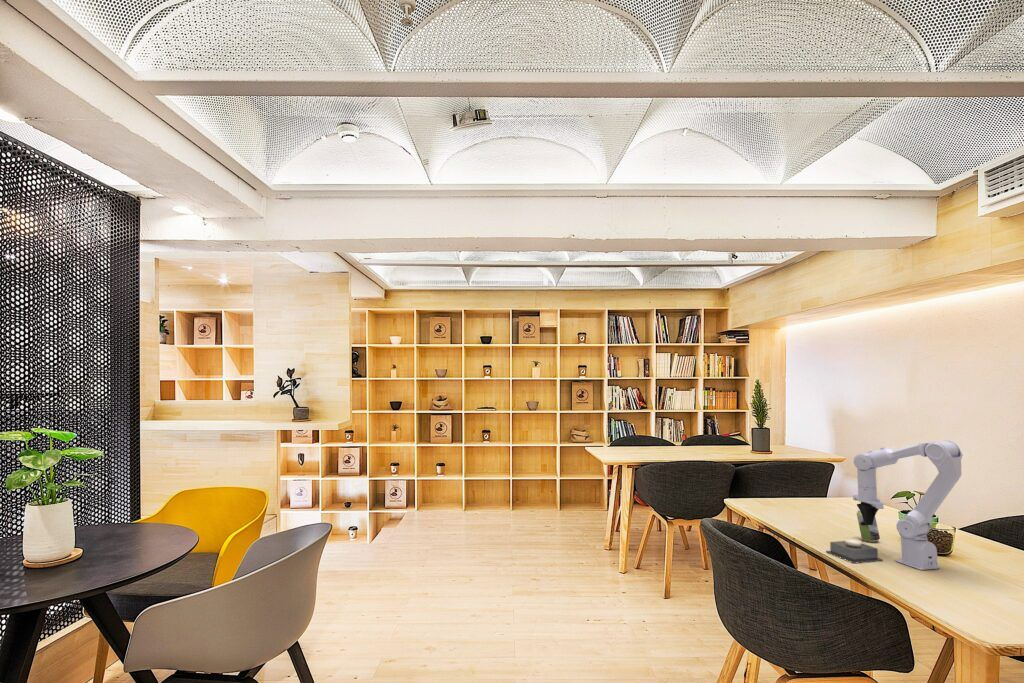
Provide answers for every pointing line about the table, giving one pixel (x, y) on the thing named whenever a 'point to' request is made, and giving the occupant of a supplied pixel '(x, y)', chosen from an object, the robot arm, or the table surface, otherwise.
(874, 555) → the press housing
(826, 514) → the table surface
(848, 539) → the plunger
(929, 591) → the table surface
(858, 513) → the beverage can
